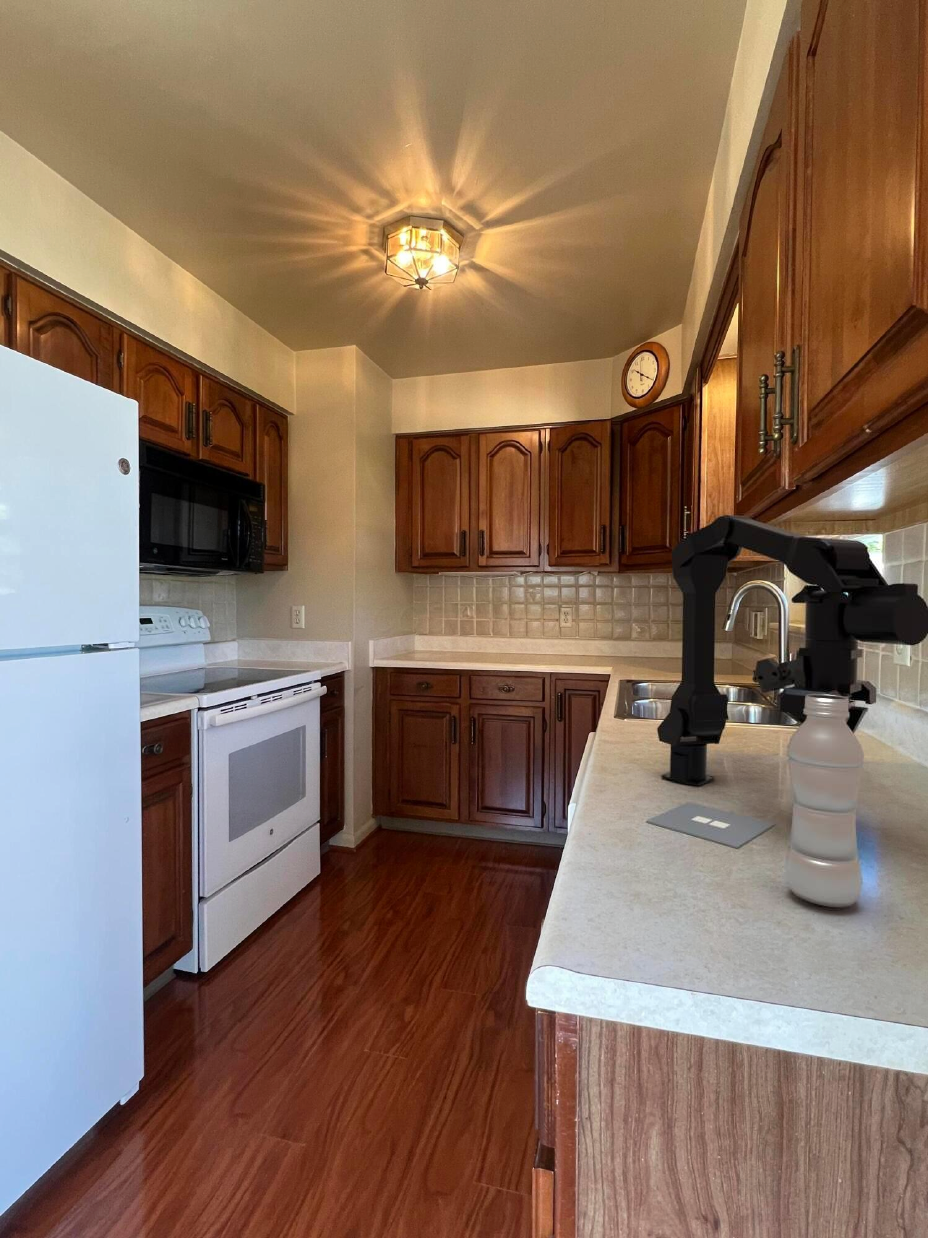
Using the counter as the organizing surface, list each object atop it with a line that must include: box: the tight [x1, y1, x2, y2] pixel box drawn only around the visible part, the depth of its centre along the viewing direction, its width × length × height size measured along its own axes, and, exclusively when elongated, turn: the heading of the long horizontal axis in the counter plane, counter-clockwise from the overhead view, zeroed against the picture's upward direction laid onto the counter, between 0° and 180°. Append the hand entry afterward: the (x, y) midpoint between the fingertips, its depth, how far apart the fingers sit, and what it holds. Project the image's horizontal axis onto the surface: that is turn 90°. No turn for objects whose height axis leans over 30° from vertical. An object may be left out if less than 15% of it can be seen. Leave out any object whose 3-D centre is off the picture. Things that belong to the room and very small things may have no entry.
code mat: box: [645, 801, 776, 850], centre depth 82 cm, size 12×12×1 cm
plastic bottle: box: [784, 694, 865, 908], centre depth 60 cm, size 6×7×20 cm
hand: (827, 765), depth 77 cm, fingers open, 5 cm apart
